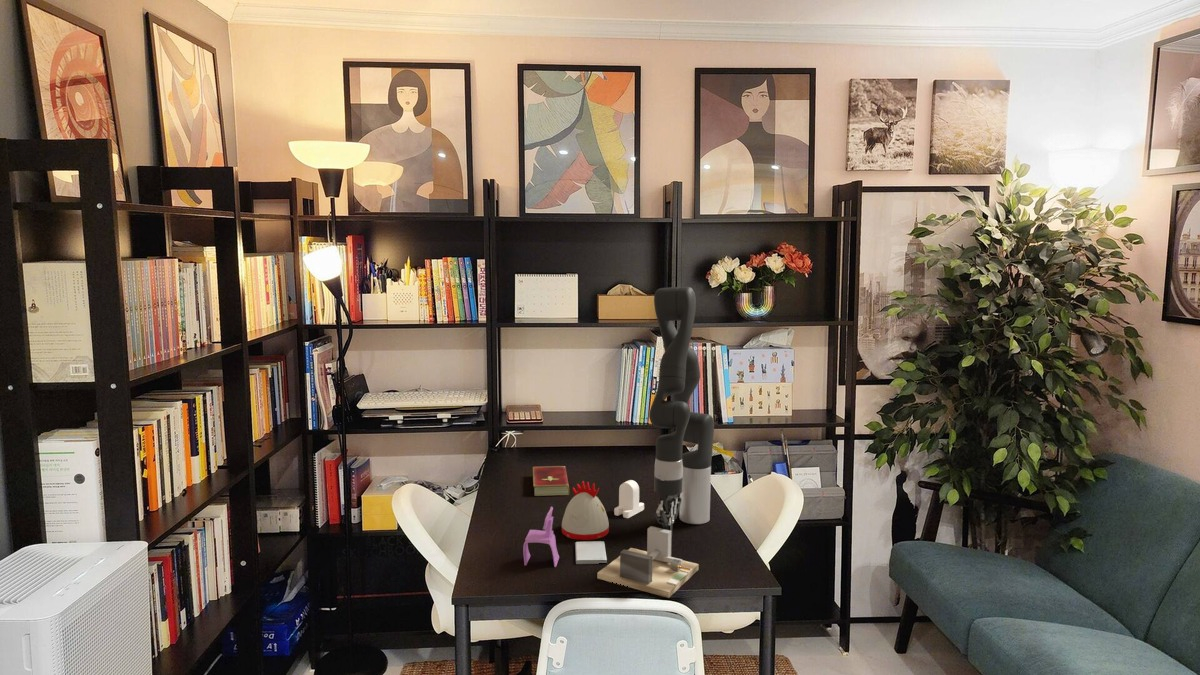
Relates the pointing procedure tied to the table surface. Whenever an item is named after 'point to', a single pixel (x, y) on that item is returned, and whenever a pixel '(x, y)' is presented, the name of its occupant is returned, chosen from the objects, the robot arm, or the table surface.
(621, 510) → the cable organizer
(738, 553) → the table surface
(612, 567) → the bench
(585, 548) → the hard drive
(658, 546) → the upright plate with peg
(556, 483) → the hardcover book
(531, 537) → the toy chair
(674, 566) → the grey block with pin
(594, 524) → the kitchen timer
